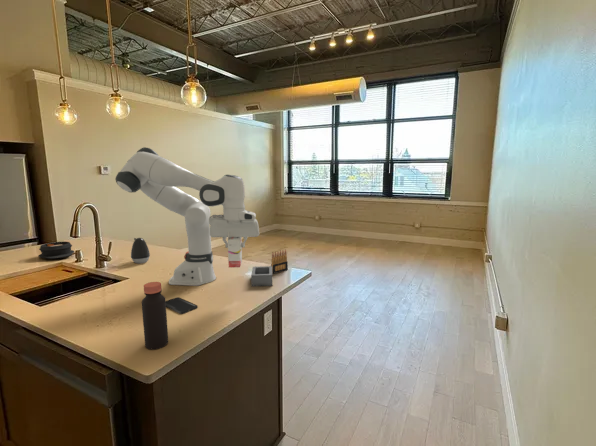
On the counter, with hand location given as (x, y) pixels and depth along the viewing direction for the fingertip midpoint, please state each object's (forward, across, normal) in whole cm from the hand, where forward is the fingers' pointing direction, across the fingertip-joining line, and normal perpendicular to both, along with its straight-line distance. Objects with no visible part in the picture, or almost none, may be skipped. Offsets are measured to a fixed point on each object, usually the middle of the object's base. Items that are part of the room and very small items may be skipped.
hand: (235, 247), depth 132 cm
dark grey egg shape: (+24, -64, +60) cm, 91 cm away
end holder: (+23, +10, +22) cm, 33 cm away
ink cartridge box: (+8, 0, 0) cm, 8 cm away
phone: (+24, -22, -5) cm, 33 cm away
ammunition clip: (+23, +19, +37) cm, 48 cm away
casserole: (+24, -123, +78) cm, 148 cm away
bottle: (+23, -21, -34) cm, 47 cm away
